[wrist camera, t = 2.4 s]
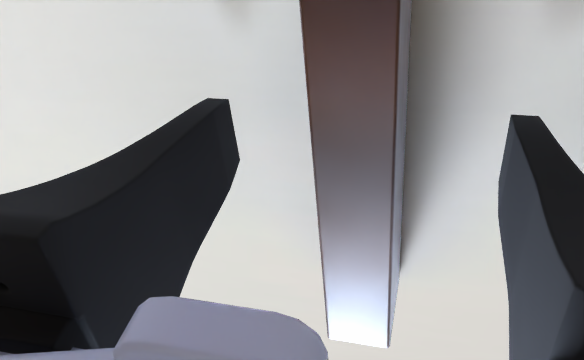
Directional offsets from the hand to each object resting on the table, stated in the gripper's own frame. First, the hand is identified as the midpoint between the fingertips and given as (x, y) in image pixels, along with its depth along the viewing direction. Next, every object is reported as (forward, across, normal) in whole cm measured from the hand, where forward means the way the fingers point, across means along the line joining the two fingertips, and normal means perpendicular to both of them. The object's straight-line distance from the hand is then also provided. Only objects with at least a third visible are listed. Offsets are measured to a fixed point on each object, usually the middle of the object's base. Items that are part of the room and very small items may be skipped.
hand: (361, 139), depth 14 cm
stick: (+2, 0, 0) cm, 2 cm away
